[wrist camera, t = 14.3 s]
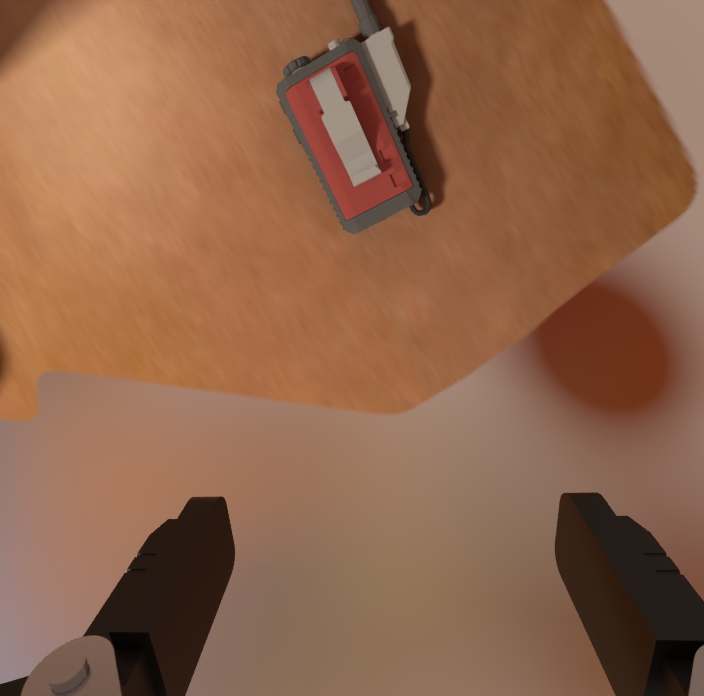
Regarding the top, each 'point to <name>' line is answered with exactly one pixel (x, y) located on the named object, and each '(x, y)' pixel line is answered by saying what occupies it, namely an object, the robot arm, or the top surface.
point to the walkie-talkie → (356, 124)
